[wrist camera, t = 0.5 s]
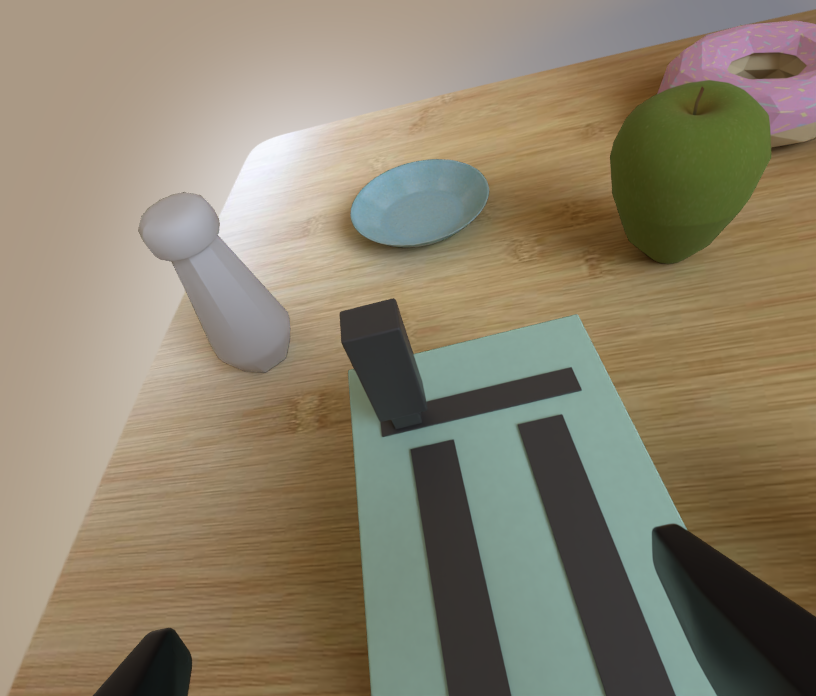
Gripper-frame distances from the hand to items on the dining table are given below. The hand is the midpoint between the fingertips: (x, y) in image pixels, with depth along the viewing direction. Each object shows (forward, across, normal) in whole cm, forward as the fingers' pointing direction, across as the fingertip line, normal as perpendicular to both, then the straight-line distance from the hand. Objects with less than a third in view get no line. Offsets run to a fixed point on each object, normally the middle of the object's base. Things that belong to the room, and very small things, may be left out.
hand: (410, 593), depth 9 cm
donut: (+41, -33, +1) cm, 53 cm away
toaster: (+11, -3, +14) cm, 18 cm away
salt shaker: (+28, +11, +7) cm, 31 cm away
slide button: (+12, 0, +4) cm, 12 cm away
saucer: (+39, -3, +2) cm, 39 cm away
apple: (+28, -19, +6) cm, 34 cm away
